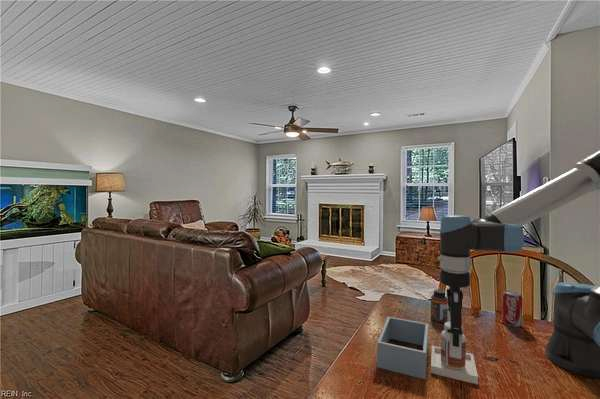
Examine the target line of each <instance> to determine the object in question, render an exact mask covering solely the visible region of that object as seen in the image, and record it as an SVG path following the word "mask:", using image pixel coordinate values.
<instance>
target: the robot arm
mask: <svg viewBox="0 0 600 399" xmlns="http://www.w3.org/2000/svg"><path fill="white" fill-rule="evenodd" d="M591 192H600V149H599V150H597V151H596V152H594V153H592V154H590V155H588V156H587V157H585V158H584V159H582V160H580V161H578V162H576V163H574V164H573V166H572V168H571V169H570V170H568V171H567V172H565V173H562V174H561V175H560V176H558V177H556V178H554V179H552V180H550V181H548V182H545V183H544V184H543V185H541V186H538V187H537V188H535V189H533V190H531V191H529V192H528V193H526V194H523V195H522V196H520V197H518V198H516V199H514V200H512V201H511V202H509V203H507V204H505V205H502V206H500V207H499V208H497V209H496V210H493V211H491V212H490V213H488V214H486V215H483V216H482V217H480V218H474V219H472V218H471V217H470V216H469V215H462V214H461V215H459V214H457V215H456V214H446V215H443V216H442V217H441V219H440V228H439V244H440V246H439V248H440V249H439V250H440V252H439V254H440V256H438V257H437V261H439V266H440V268H441V269H440V271H439V282H440V283H441V284H442V285H445V286H448V288H446V297H447V299H448V311H447V322H450V328H451V329H447V332H449V333H450V357H454V358H459V359H461V350H462V334H463V333H462V326H463V325H462V324H463V321H462V320H463V319H462V309H463V300H464V299H463V298H464V293H463V290H462V289H461V288H468V287H470V285H471V273H470V271H471V251H487V252H501V253H503V252H504V253H510V252H511V253H518V252H520V251H521V250H522V249H523V247H524V244H525V234H524V231H523V228H522V227H523V226H525V225H527V224H529V223H531V222H532V221H535V220H537V219H539V218H540V217H543V216H545V215H547V214H549V213H552V212H553V211H555V210H557V209H559V208H561V207H563V206H566V205H567V204H569V203H572V202H573V201H576V200H578V199H579V198H581V197H583V196H585V195H587V194H589V193H591ZM553 295H554V297H553V298H554V299H553V302H554V305H553V330H552V333H551V335H550V336H549V337H550V338H549V340H548V341H547V343H546V345H545V356H546V358H547V359H548V360H550V361H551V362H552V363H553V364H556V365H557V366H559V367H561V368H563V369H565V370H568V371H570V372H571V373H572V372H573V373H575V374H579V375H582V376H586V377H590V378H594V379H600V284H599V285H592V284H588V283H586V284H585V283H578V282H577V283H576V282H558V283H556V284H555V286H554V293H553ZM454 328H457V329H454Z"/></svg>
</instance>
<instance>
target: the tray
mask: <svg viewBox="0 0 600 399" xmlns="http://www.w3.org/2000/svg"><path fill="white" fill-rule="evenodd" d="M430 357H431V359H430V360H431V361H430V373H431V374H434V375H437V376H442V377H447V378H449V379H453V380H458V381H461V382H462V381H463V382H466V383H470V384H474V385H479V375H478V371H477V366H476V362H475V357H474V354H473V353H470V352H469V353H468V352H466V359H465V368H464V369H461V370H456V369H451V368H449V367H447V366H445V365H444V364H443V363H442V362H441V346H435V345H431V356H430Z"/></svg>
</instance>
